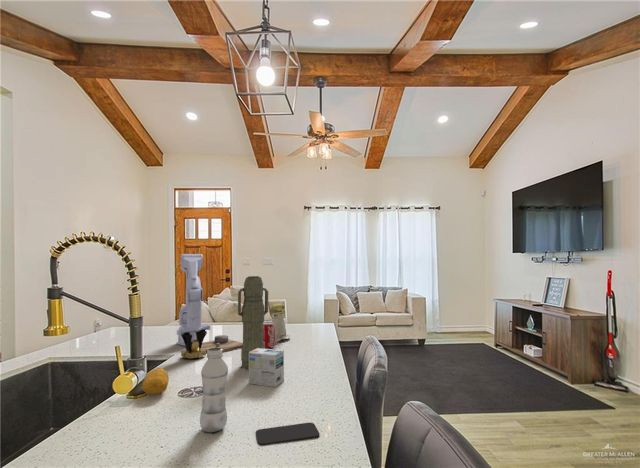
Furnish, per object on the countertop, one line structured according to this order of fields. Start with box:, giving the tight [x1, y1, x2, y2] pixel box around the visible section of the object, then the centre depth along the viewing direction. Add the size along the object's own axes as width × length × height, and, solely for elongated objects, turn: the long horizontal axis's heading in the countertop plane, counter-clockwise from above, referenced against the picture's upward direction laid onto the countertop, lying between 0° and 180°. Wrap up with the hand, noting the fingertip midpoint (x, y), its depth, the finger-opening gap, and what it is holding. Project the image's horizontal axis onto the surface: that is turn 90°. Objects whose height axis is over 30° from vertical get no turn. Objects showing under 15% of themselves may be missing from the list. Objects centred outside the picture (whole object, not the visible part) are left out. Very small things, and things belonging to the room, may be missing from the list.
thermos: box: [237, 275, 269, 370], centre depth 145 cm, size 9×12×35 cm
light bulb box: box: [247, 348, 285, 388], centre depth 126 cm, size 11×7×11 cm, turn 71°
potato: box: [141, 367, 170, 396], centre depth 117 cm, size 8×14×7 cm, turn 23°
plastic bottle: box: [199, 348, 229, 433], centre depth 93 cm, size 6×7×20 cm
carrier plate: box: [201, 334, 243, 354], centre depth 172 cm, size 18×18×4 cm
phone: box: [255, 421, 321, 446], centre depth 90 cm, size 7×1×15 cm
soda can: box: [263, 321, 276, 350], centre depth 169 cm, size 7×7×12 cm
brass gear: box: [180, 340, 207, 360], centre depth 156 cm, size 10×10×6 cm
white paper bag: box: [268, 302, 291, 344], centre depth 187 cm, size 12×13×18 cm
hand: (193, 349), depth 156 cm, fingers closed on brass gear, 4 cm apart
